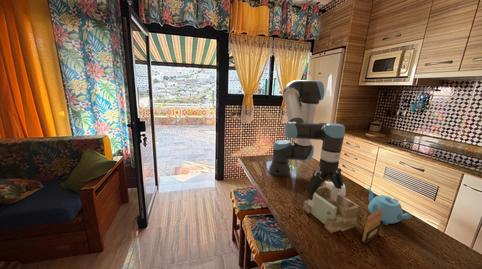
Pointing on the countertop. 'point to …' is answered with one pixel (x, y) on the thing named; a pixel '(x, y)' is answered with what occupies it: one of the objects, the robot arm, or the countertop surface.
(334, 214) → the door
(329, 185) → the mug
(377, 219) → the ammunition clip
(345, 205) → the carcass
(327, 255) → the countertop surface
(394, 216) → the teapot
